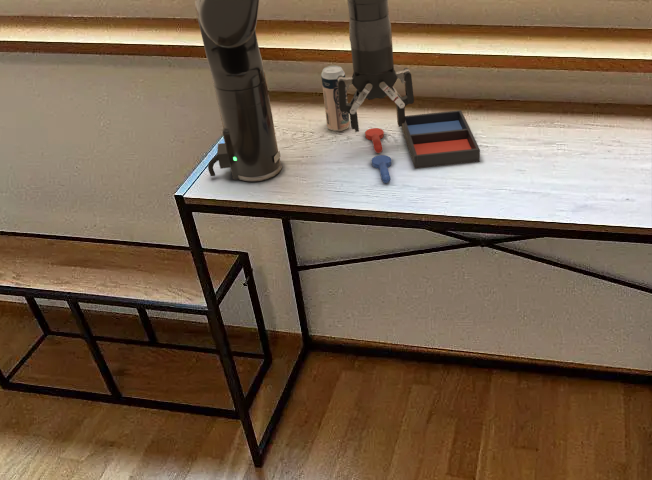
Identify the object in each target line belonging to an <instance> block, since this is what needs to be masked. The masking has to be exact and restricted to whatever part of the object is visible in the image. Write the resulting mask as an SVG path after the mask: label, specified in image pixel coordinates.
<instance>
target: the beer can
mask: <svg viewBox="0 0 652 480" xmlns="http://www.w3.org/2000/svg"><path fill="white" fill-rule="evenodd" d="M321 71H322V72H321V73H320V77H321V85H322V86H321V87H322V93H323V95H322V96H323V102H324V111H325V118H326V127H327V129H328V130H331V131H333V132H343V131H346V130H347V129H348V128H349V127H351V122H350V114H349V113H348V112H341V111H340V107H339V97H338V80H337V78H338V76H340V75H342V76H343V77H344V78H345V77H346V72H345V71H344V69H343V67H342V66H340V65H329V66H325V67H324V68H323V69H322V70H321ZM345 95H346V103H349V101H348V90H346V91H345Z"/></svg>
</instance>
